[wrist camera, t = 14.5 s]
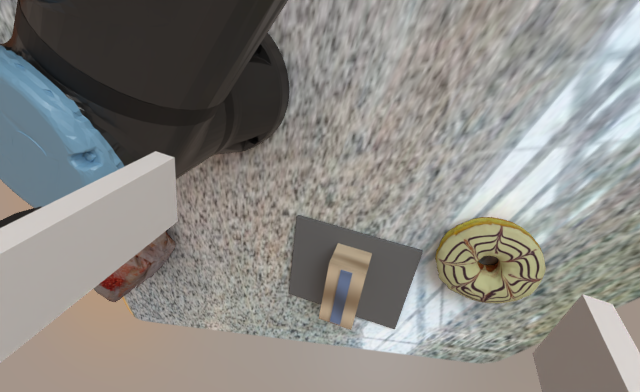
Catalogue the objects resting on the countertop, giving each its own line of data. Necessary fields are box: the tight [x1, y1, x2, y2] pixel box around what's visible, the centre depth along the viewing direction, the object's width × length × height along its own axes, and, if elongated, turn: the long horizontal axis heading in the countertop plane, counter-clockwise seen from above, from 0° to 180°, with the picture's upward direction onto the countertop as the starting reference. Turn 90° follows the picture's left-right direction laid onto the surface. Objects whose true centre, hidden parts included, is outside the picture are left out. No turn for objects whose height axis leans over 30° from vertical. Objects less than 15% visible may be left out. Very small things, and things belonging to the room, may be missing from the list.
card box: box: [319, 243, 372, 330], centre depth 44 cm, size 10×4×4 cm, turn 173°
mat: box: [289, 215, 422, 329], centre depth 46 cm, size 16×14×1 cm
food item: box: [94, 231, 177, 302], centre depth 53 cm, size 14×8×10 cm, turn 139°
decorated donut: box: [435, 217, 546, 303], centre depth 38 cm, size 10×11×4 cm
